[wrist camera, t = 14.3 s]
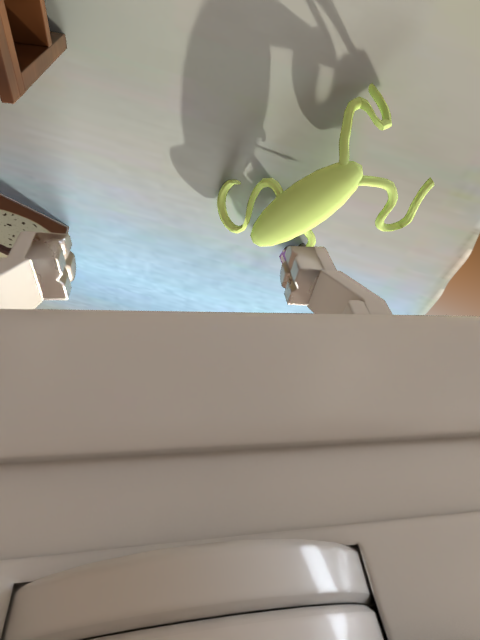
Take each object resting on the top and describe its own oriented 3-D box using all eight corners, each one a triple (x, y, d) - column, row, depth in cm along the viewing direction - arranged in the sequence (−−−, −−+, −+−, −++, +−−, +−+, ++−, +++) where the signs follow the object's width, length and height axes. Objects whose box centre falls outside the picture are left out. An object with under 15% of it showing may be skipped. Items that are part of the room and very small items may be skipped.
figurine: (424, 191, 54) (444, 211, 50) (266, 276, 62) (272, 299, 58) (396, 64, 41) (418, 77, 37) (202, 191, 49) (205, 213, 45)
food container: (-33, 219, 48) (-67, 266, 41) (-21, 182, 45) (-56, 227, 38) (63, 261, 55) (47, 307, 48) (79, 231, 51) (65, 277, 45)
